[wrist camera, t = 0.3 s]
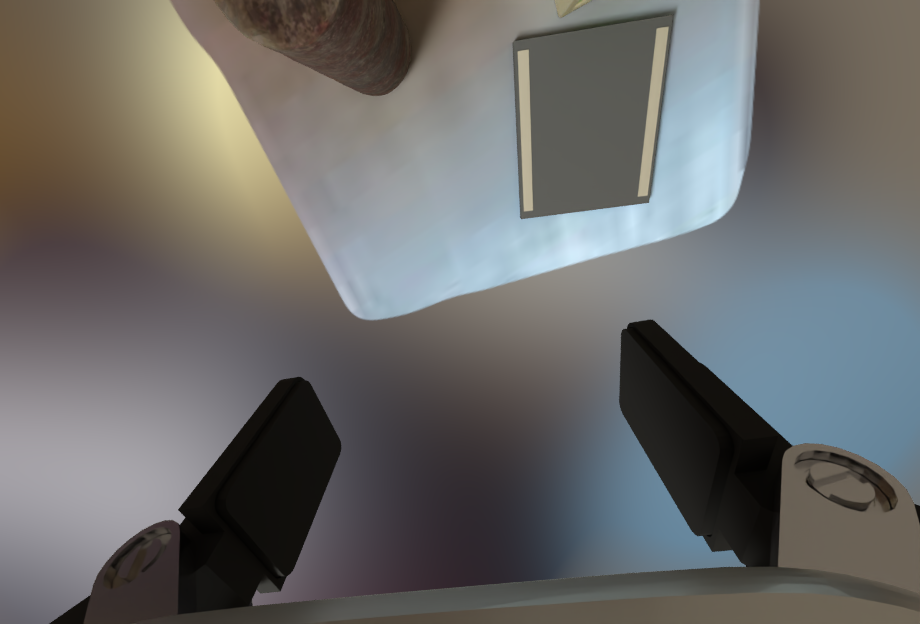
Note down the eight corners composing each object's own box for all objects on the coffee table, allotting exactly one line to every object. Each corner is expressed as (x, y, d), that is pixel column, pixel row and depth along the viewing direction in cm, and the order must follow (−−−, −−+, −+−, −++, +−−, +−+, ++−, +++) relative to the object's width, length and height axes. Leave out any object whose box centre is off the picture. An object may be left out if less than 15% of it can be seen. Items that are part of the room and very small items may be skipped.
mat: (512, 43, 30) (514, 40, 29) (668, 17, 29) (673, 14, 28) (520, 217, 37) (521, 219, 37) (645, 201, 36) (649, 202, 36)
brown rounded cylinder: (418, 97, 32) (361, 37, 14) (346, 104, 33) (203, 53, 15) (406, -5, 29) (312, -251, 11) (325, 4, 29) (107, -221, 11)
